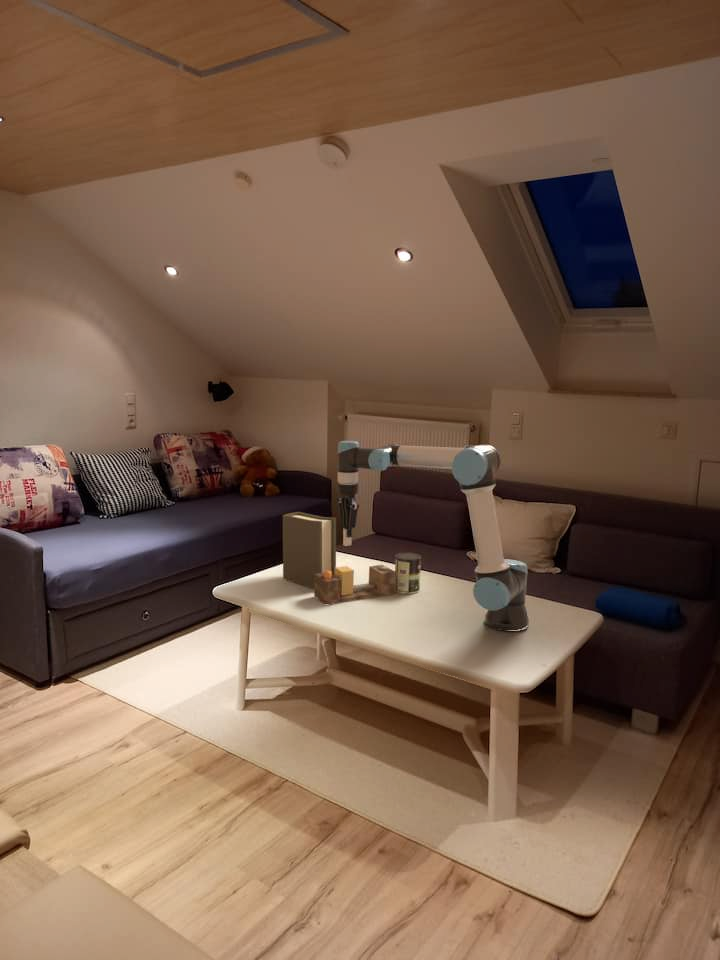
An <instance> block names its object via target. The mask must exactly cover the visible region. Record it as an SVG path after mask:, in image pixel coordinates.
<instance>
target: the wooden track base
mask: <svg viewBox="0 0 720 960" xmlns="http://www.w3.org/2000/svg"><path fill="white" fill-rule="evenodd" d="M368 583H374V584H376V587H375V590H369V591H362V592H356V593H353V594H350V595H344V596H341V595H340V588H341V580H340V579H339V578H337V577H336V576H334V575H333V574H332V578H329V579H324V573H319V574H315V584H314V591H313V592H314V593H313V594H314V595H313V596H315V597H314V598H316V597H317V598H318V599H319V601H320V602H321V601H322V602H323V604H324V605H325V604H329V605H332V604H333V603H335V604H340V603H341V604H342V603H345V602H353V601H359V600H365V599H371V598H376V597H377V598H378V597H383V596H389V595H395V594H396V593H395V592H396V591H395V570H393V569H391V568H389V567H387V566H385V565H384V564H379V565H378V564H377V565H371V566H370V565H369V569H368ZM317 598H316V599H317ZM318 599H317V600H318ZM322 602H321V603H322ZM333 605H334V604H333Z"/></svg>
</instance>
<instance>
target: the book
mask: <svg viewBox="0 0 720 960" xmlns="http://www.w3.org/2000/svg"><path fill="white" fill-rule="evenodd" d="M335 567H337V517H326V516H319V515H314V514H311V513H306V512H301V511H295V512H289V513H285V514H283V515H282V578H283V579H282V580H284V579H286V580H285V581H288V580H289V581H288V582H291V581H293V582H292V583H295V582H296V583H295V584H300V585H303V586H306V587H310V588H311V589H314V584H315V574H319V573H324V571H326V570H329V571H332V574H333V575H334V576H335Z"/></svg>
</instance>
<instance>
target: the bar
mask: <svg viewBox="0 0 720 960" xmlns="http://www.w3.org/2000/svg"><path fill="white" fill-rule="evenodd" d="M375 587H376V584H374V583H369V582H368V583H363V584H356V585H354V584H353V593H356V592H362V591H369V590H375Z"/></svg>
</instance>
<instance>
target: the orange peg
mask: <svg viewBox="0 0 720 960" xmlns="http://www.w3.org/2000/svg"><path fill="white" fill-rule="evenodd" d="M329 578H332V571H329V570H326V571H324V579H329Z"/></svg>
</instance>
